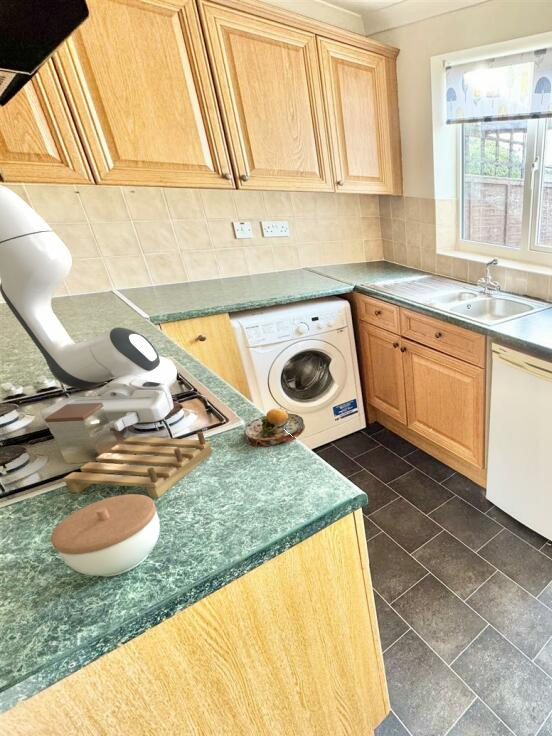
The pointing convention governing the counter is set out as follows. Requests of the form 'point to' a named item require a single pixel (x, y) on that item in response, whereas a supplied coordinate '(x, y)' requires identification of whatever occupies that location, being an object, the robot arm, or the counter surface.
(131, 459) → the rack
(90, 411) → the tea tin
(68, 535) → the trinket box
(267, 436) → the open sandwich
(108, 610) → the counter surface
